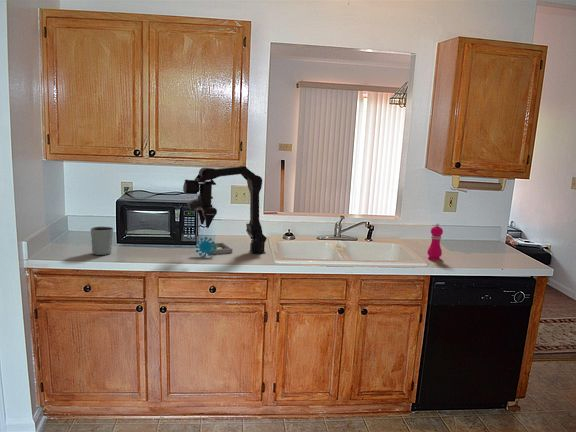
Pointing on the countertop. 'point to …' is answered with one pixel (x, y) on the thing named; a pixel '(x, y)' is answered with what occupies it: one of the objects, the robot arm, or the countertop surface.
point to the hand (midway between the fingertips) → (204, 226)
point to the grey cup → (101, 240)
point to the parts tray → (221, 251)
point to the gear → (206, 247)
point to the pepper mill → (435, 243)
